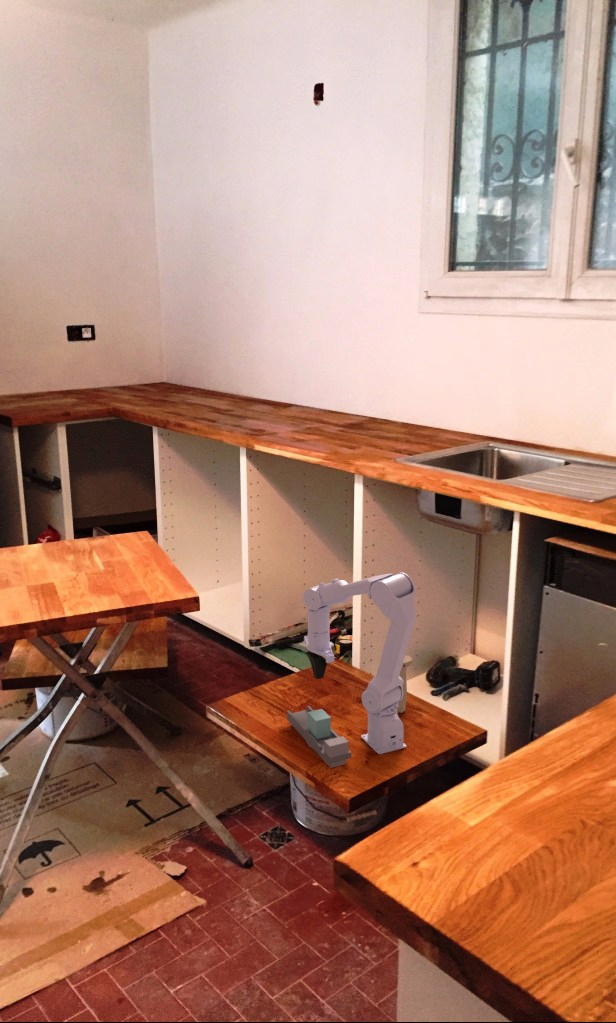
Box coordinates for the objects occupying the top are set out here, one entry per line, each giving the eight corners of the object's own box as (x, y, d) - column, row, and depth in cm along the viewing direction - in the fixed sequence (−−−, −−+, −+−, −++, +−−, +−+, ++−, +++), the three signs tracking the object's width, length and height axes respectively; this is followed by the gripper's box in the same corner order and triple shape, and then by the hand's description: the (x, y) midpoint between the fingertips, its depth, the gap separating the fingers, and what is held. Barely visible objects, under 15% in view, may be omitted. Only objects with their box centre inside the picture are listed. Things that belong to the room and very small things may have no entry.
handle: (384, 709, 230) (385, 657, 227) (405, 704, 233) (406, 653, 229) (392, 717, 226) (393, 664, 222) (413, 712, 228) (415, 660, 224)
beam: (351, 763, 204) (351, 741, 202) (327, 769, 201) (327, 747, 200) (309, 719, 225) (309, 698, 224) (287, 724, 222) (286, 703, 221)
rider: (330, 735, 210) (330, 717, 209) (316, 739, 209) (316, 720, 207) (322, 726, 215) (322, 708, 213) (307, 730, 213) (307, 712, 212)
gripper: (344, 637, 217) (344, 685, 221) (320, 618, 230) (320, 664, 234) (319, 641, 215) (320, 691, 218) (296, 622, 227) (297, 669, 231)
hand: (318, 677), depth 226 cm, fingers closed
